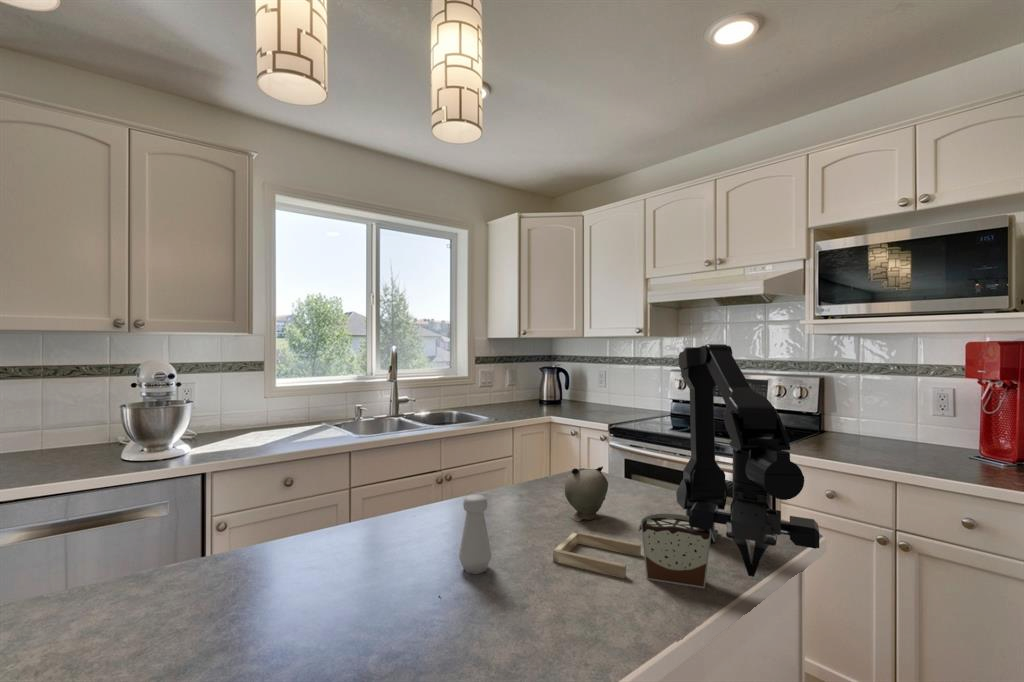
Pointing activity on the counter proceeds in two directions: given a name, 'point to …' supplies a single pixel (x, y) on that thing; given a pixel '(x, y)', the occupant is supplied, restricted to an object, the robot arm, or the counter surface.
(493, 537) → the counter surface
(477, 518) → the salt shaker
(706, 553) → the food container
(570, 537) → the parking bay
